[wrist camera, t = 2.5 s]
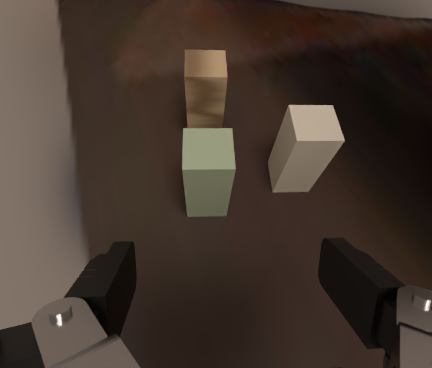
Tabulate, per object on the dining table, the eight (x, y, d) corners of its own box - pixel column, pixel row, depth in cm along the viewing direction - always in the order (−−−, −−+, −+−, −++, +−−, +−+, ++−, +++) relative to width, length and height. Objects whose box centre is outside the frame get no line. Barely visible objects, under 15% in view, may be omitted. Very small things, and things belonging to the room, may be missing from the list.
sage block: (224, 182, 34) (232, 128, 26) (226, 215, 32) (235, 169, 23) (187, 182, 34) (183, 128, 25) (187, 216, 32) (182, 169, 23)
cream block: (301, 161, 36) (332, 105, 28) (308, 191, 34) (344, 140, 26) (267, 161, 36) (288, 105, 27) (272, 192, 34) (297, 140, 25)
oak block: (219, 113, 40) (225, 50, 31) (221, 138, 38) (227, 77, 29) (188, 113, 40) (185, 49, 31) (188, 138, 37) (184, 76, 29)
